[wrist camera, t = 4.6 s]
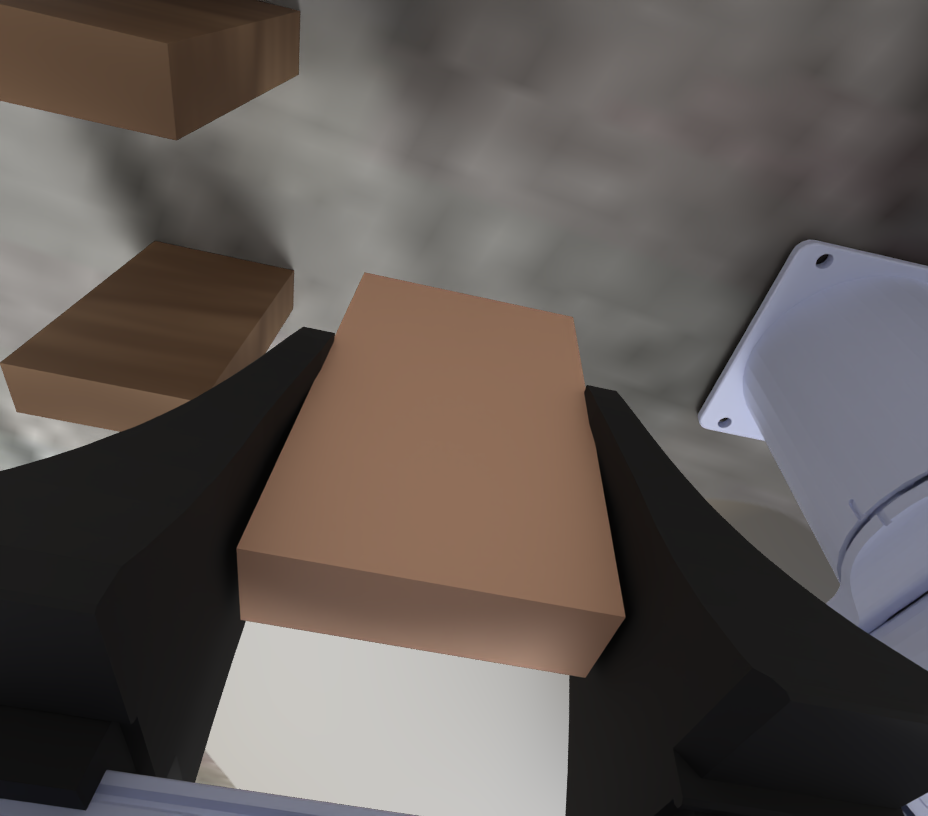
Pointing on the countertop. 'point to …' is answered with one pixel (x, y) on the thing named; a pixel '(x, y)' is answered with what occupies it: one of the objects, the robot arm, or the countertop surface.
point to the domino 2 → (150, 338)
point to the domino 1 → (145, 59)
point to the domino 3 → (441, 489)
